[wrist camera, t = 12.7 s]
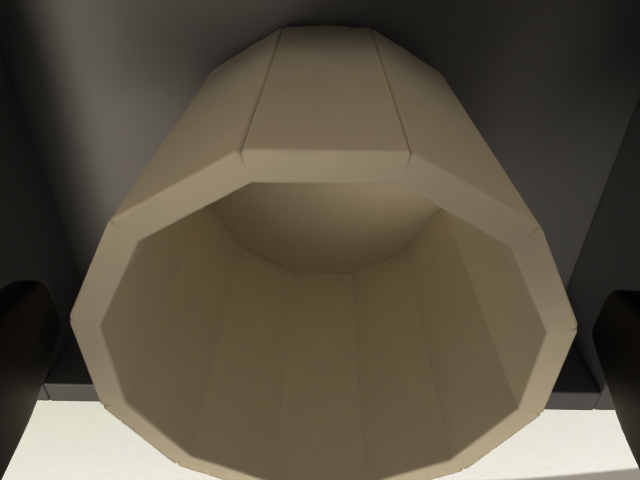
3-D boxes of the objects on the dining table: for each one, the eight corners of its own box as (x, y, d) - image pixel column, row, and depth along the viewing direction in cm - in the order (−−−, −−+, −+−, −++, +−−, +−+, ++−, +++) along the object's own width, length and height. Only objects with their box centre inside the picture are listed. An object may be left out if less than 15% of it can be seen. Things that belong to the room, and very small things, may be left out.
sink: (727, -95, 10) (903, -93, 7) (565, 315, 16) (619, 411, 13) (-66, -104, 10) (-237, -105, 7) (80, 307, 16) (24, 401, 13)
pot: (486, 23, 10) (653, 154, 5) (439, 273, 14) (507, 499, 9) (168, 19, 10) (0, 146, 5) (206, 270, 14) (133, 493, 9)
